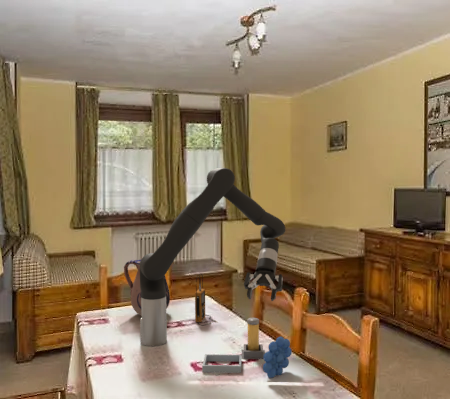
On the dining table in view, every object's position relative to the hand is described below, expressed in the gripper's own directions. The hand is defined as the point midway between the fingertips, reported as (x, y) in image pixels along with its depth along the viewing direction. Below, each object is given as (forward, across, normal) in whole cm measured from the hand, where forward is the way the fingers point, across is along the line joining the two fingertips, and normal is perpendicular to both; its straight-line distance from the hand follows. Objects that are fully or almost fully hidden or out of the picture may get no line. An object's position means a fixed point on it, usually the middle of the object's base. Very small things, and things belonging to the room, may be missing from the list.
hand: (260, 299), depth 156 cm
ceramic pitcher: (-3, -58, +27) cm, 64 cm away
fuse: (+19, 0, +3) cm, 20 cm away
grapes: (+29, +10, -4) cm, 31 cm away
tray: (+29, -7, -5) cm, 30 cm away
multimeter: (-3, -28, +27) cm, 39 cm away
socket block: (+20, 0, +4) cm, 20 cm away
